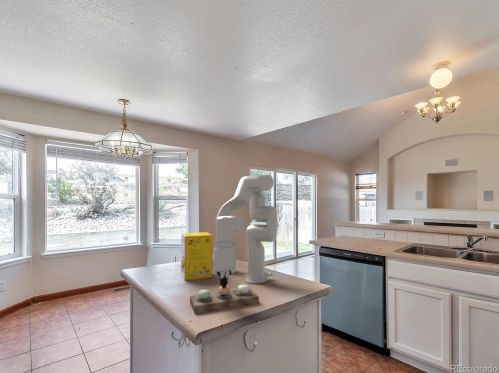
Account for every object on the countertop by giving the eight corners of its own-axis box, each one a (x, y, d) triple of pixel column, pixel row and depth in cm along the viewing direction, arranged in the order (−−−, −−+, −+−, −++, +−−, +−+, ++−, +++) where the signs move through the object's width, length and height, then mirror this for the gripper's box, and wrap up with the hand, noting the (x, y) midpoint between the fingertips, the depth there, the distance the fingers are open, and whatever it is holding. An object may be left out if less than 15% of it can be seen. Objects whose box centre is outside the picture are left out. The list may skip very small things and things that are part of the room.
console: (248, 294, 125) (248, 286, 125) (258, 303, 113) (258, 295, 114) (190, 302, 114) (190, 294, 115) (194, 313, 103) (194, 304, 103)
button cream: (246, 289, 121) (246, 284, 121) (250, 292, 116) (250, 287, 116) (236, 290, 119) (236, 285, 119) (240, 294, 114) (240, 288, 114)
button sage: (208, 294, 114) (208, 288, 114) (210, 298, 110) (210, 292, 110) (197, 295, 112) (197, 290, 112) (199, 299, 108) (199, 293, 108)
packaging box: (180, 273, 163) (181, 233, 164) (206, 270, 169) (206, 232, 170) (184, 280, 148) (184, 236, 149) (212, 277, 153) (212, 235, 155)
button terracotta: (227, 290, 117) (227, 285, 117) (231, 293, 113) (231, 288, 113) (217, 291, 116) (217, 286, 116) (220, 295, 111) (220, 289, 111)
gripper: (237, 242, 122) (237, 282, 120) (205, 244, 116) (205, 286, 115) (242, 244, 115) (242, 287, 113) (209, 246, 109) (208, 291, 108)
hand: (223, 286), depth 114 cm, fingers closed
